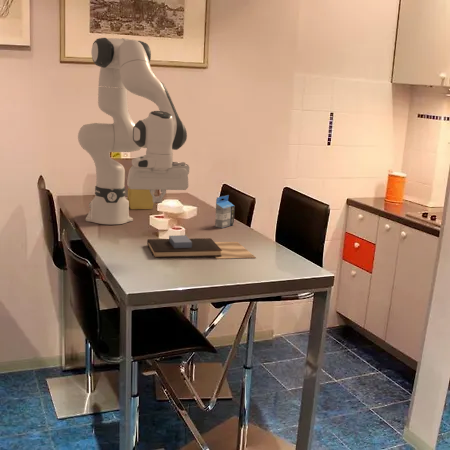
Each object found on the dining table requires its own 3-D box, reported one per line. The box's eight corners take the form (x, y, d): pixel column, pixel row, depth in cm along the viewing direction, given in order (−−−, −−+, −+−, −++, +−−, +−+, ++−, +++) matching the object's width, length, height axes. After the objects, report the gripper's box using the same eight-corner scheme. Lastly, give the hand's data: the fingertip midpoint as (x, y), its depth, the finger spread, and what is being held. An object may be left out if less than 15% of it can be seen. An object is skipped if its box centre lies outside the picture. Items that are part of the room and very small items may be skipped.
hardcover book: (221, 256, 205) (221, 250, 205) (154, 258, 199) (154, 251, 199) (210, 243, 220) (210, 237, 220) (147, 245, 214) (147, 238, 214)
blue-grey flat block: (169, 241, 212) (169, 235, 212) (185, 240, 214) (185, 235, 213) (174, 248, 204) (174, 242, 203) (191, 247, 206) (192, 242, 205)
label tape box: (222, 228, 246) (224, 198, 244) (214, 226, 248) (216, 197, 246) (234, 225, 254) (236, 196, 251) (226, 223, 256) (228, 194, 253)
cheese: (126, 204, 279) (127, 183, 276) (149, 205, 282) (150, 183, 280) (129, 209, 269) (130, 187, 267) (153, 209, 272) (154, 187, 270)
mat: (201, 243, 222) (201, 242, 222) (237, 242, 226) (237, 241, 226) (216, 258, 203) (216, 258, 203) (255, 258, 208) (255, 257, 207)
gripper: (187, 161, 206) (185, 200, 209) (127, 159, 199) (125, 200, 203) (192, 163, 200) (189, 204, 203) (130, 162, 194) (128, 204, 197)
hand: (157, 202), depth 203 cm, fingers closed
